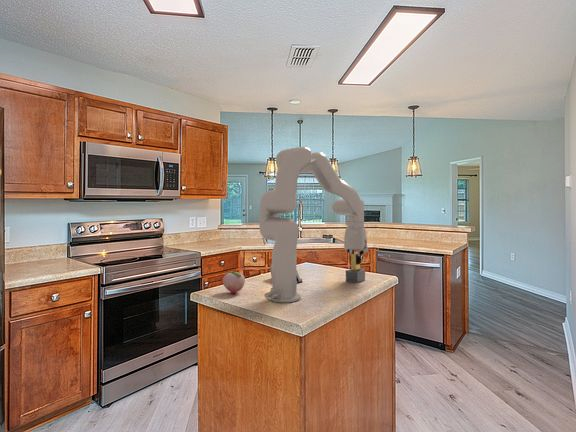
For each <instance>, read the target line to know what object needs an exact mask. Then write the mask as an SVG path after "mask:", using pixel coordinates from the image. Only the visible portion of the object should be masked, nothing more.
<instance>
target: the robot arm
mask: <svg viewBox="0 0 576 432" xmlns="http://www.w3.org/2000/svg"><path fill="white" fill-rule="evenodd" d="M275 163H276V166H277V167H278V169H277V172H276V175H275V184H274V189H269V190H267V191H266V192H264V193H263V194H262V197H261V199H260V203H259V223H258V224H259V228H258V229H259V233H260V235H261V237H262V238H263V239H265V240H267V241H273V242H274V241H275V242H274V244H273V247H272V251H271V265H272V276H271V279H272V281H271V282H272V283H271V285H272V287H270V291H267V292H264V293H263V294H264V298H265V299H269V300H270V301H271V302H275V303H294V302H297V301H299V300H301V294H300V293H299V292H297V290H298V289H297V286H298V285H297V284H298V282H297V272H298V270H297V248H298V247H297V245H298V241H299V240H298V238H299V234H300V228H299V225H298V222H297V221H295V220H294V219H293V218H290V217H285V216H284V217H283V216H280V215H281V214H282V215H287V214H291V213H294V211H295V210H296V207H297V196H298V194H297V193H298V192H297V191H298V179H299V177H300V174H305V175H306V174H312V175H313V176H314V178H315V179H316V180H317V182H318V184H319V186H320V187H321V189H322V190H324V191H325V192H328V193H330V194H333V195H336V196H337V197H340V198H338V199H336V200H334V201H333V203H332V206H331V207H332V208H331V209H332V211H333V212H334V213H335V214H336V215H339V216H347V222H345V224H344V225H345V226H347V227H345V232H344V239H343V250H345V251H346V252H348V255H349V256H351V254H352V253H355V250H356V253H357V265H358V264H360V265H361V263H362V256H363V254H364V253H368V252H369V248H368V238H367V236H368V235H367V231H366V228H365V201H364V200H363V199H361V197H360V195H359V193H358V192H357V190H355V188H354V187H352V186H351V185H349V183H347V182H345V180H342V179H341V178H340V177H339V175H338V174H337V172H336V170H335V169H334V167H333V165H332V164H331V162H330V160H329V159H328V156H326V154H324V152H320V151H317V152H312V150H311V149H310V148H309V147H306V146H296V147H292V148H289V149H288V148H287V149H283V150H280V151H279V152H278V153H277V154H276V157H275Z"/></svg>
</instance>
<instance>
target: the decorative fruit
mask: <svg viewBox="0 0 576 432" xmlns="http://www.w3.org/2000/svg"><path fill="white" fill-rule="evenodd" d="M245 283H246V278H245V275H243V273H242V272H239V271H235V269H234V268H233V270H230V271H227V272H225V275H224V276H223V278H222V284H223V286H224V288H225V289H226V290H227V291H228V292H230V293H233V294H237V293H238V292H240V291H241V290H243V288H244V286H245Z"/></svg>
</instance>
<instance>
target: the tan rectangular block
mask: <svg viewBox="0 0 576 432" xmlns="http://www.w3.org/2000/svg"><path fill="white" fill-rule="evenodd" d="M350 265H351V266H350V269H351V271H359V270H360V269H361V263H360V264H358V265H357V251H356V252H355V251H354V253H352V254H351V255H350Z"/></svg>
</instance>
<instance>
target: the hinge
mask: <svg viewBox="0 0 576 432" xmlns="http://www.w3.org/2000/svg"><path fill="white" fill-rule="evenodd" d="M269 271H270V275H271V277H272V264H271V265H270V266H269ZM298 282H299V283H304V282H303V278H301V277H300V275H299V272H298V271H297V283H298Z"/></svg>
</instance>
